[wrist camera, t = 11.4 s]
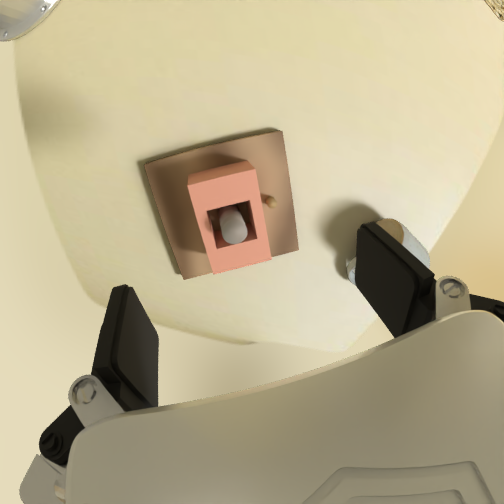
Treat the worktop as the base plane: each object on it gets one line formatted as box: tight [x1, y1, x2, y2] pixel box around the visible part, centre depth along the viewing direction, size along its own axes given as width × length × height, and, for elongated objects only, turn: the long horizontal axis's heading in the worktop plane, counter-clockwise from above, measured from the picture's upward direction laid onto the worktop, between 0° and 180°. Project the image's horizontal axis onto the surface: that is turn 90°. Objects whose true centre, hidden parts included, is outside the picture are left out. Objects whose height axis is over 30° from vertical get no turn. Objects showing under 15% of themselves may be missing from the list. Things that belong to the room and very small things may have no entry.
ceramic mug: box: [347, 219, 430, 285], centre depth 34 cm, size 11×8×8 cm
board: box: [144, 130, 299, 280], centre depth 27 cm, size 14×14×6 cm
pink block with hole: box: [187, 160, 272, 274], centre depth 28 cm, size 9×6×4 cm, turn 11°
